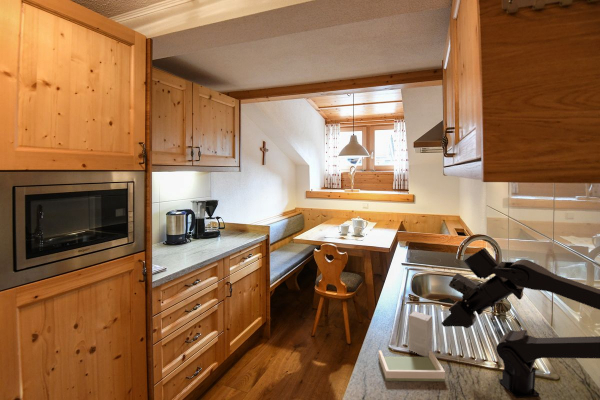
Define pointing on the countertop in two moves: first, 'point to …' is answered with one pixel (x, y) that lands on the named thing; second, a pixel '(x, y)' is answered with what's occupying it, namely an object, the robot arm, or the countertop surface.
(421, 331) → the skincare box
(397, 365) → the pad
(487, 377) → the countertop surface
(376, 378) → the countertop surface
